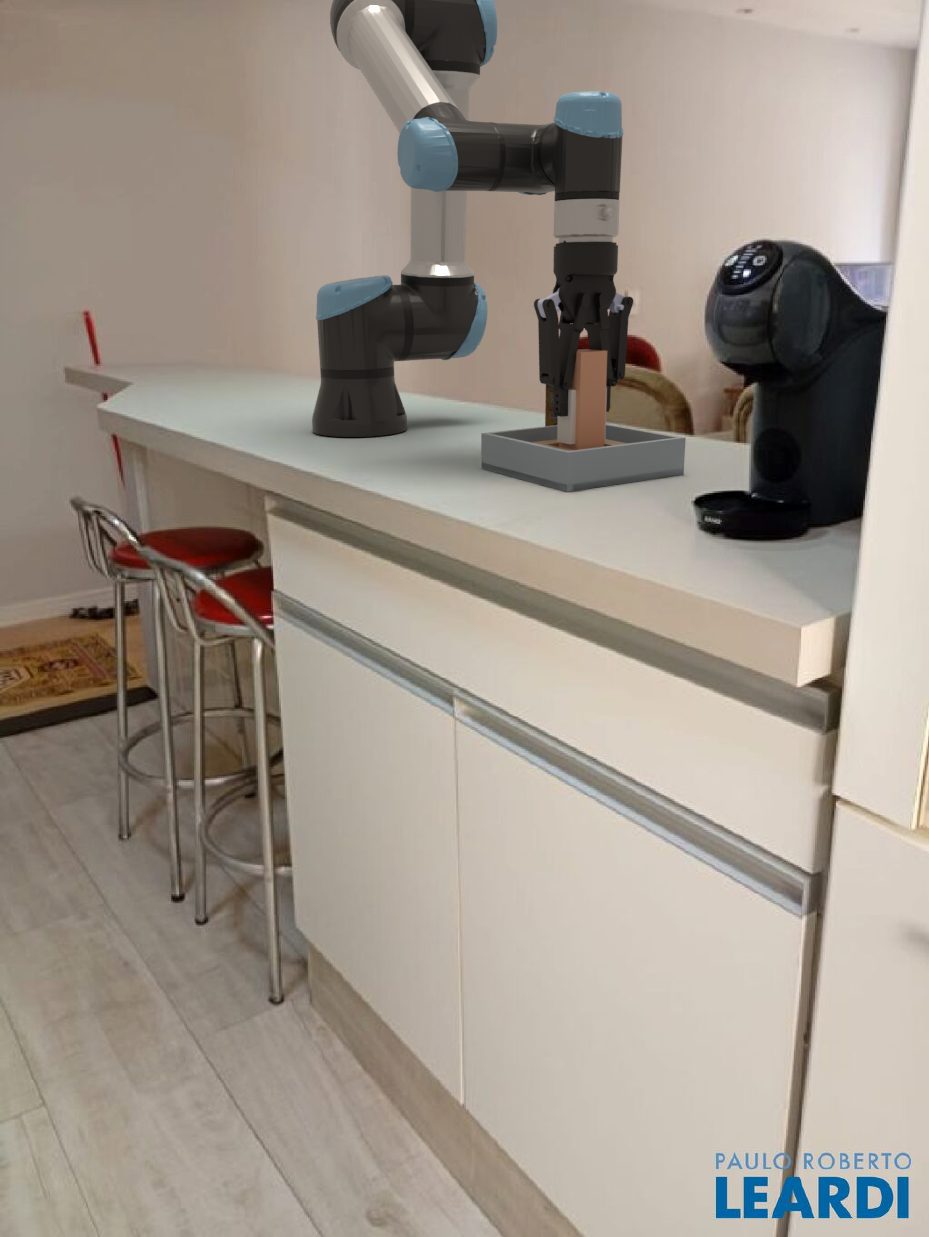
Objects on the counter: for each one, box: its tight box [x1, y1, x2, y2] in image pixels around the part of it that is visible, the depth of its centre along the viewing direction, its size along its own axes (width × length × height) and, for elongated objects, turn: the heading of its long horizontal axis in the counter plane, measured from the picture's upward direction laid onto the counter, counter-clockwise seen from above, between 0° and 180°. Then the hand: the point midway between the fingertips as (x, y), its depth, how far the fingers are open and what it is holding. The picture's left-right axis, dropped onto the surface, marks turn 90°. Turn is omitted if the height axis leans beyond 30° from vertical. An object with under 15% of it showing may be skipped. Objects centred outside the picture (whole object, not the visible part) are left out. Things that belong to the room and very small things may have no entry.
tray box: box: [480, 423, 687, 493], centre depth 126 cm, size 18×18×4 cm
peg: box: [559, 348, 607, 450], centre depth 124 cm, size 4×4×12 cm
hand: (581, 440), depth 125 cm, fingers closed on peg, 4 cm apart
